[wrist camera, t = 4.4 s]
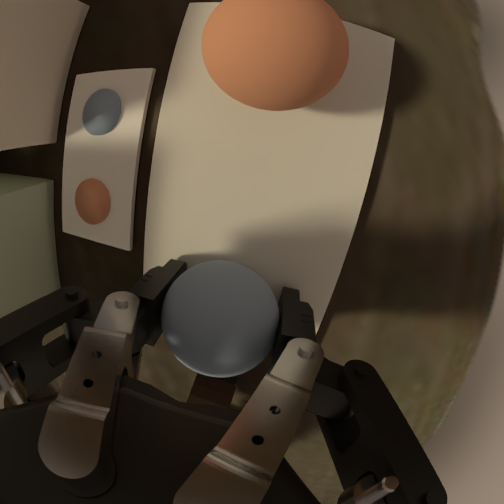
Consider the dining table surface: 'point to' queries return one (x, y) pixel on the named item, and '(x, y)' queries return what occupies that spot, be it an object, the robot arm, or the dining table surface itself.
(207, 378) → the toy gun
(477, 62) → the dining table surface
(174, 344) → the blue ball
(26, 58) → the cream cup
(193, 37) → the felt mat
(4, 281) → the sage cup
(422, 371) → the dining table surface
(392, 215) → the dining table surface
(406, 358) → the dining table surface
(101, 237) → the card
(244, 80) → the terracotta ball
